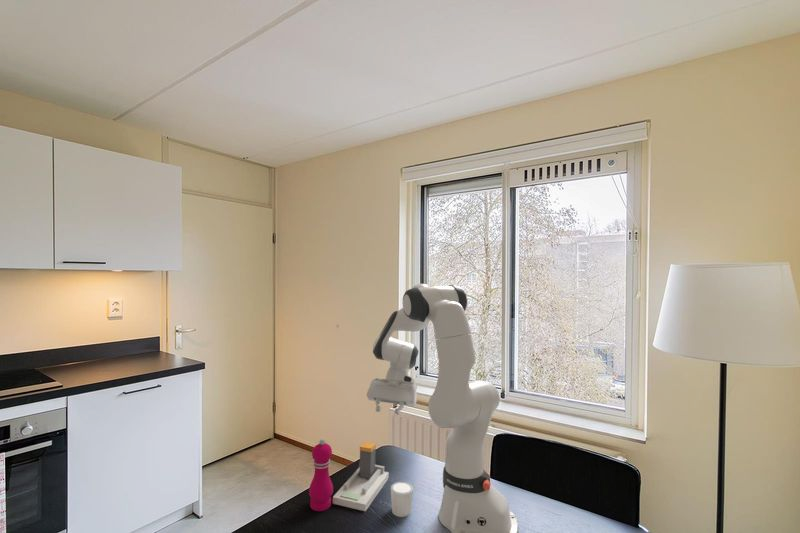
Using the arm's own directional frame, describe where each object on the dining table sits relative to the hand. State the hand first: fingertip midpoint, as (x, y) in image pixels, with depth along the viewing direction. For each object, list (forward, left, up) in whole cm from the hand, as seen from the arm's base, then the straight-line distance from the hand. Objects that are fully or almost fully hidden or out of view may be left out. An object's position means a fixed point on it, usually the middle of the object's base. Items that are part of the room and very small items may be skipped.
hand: (387, 412), depth 148 cm
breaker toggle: (0, +18, -15) cm, 24 cm away
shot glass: (-16, +29, -18) cm, 38 cm away
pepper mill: (+8, +35, -18) cm, 40 cm away
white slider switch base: (0, +23, -17) cm, 29 cm away
